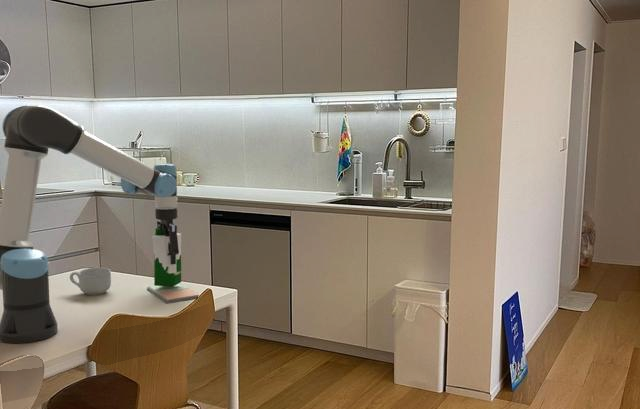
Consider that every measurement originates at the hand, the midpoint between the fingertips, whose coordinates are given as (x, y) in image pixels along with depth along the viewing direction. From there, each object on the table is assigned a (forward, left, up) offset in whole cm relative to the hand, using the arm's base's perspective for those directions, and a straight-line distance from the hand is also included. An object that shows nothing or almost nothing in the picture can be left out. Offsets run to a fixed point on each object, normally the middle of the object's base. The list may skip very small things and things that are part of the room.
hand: (167, 270), depth 215 cm
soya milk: (0, 0, -5) cm, 5 cm away
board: (0, -5, -7) cm, 9 cm away
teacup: (-24, +11, -8) cm, 27 cm away
